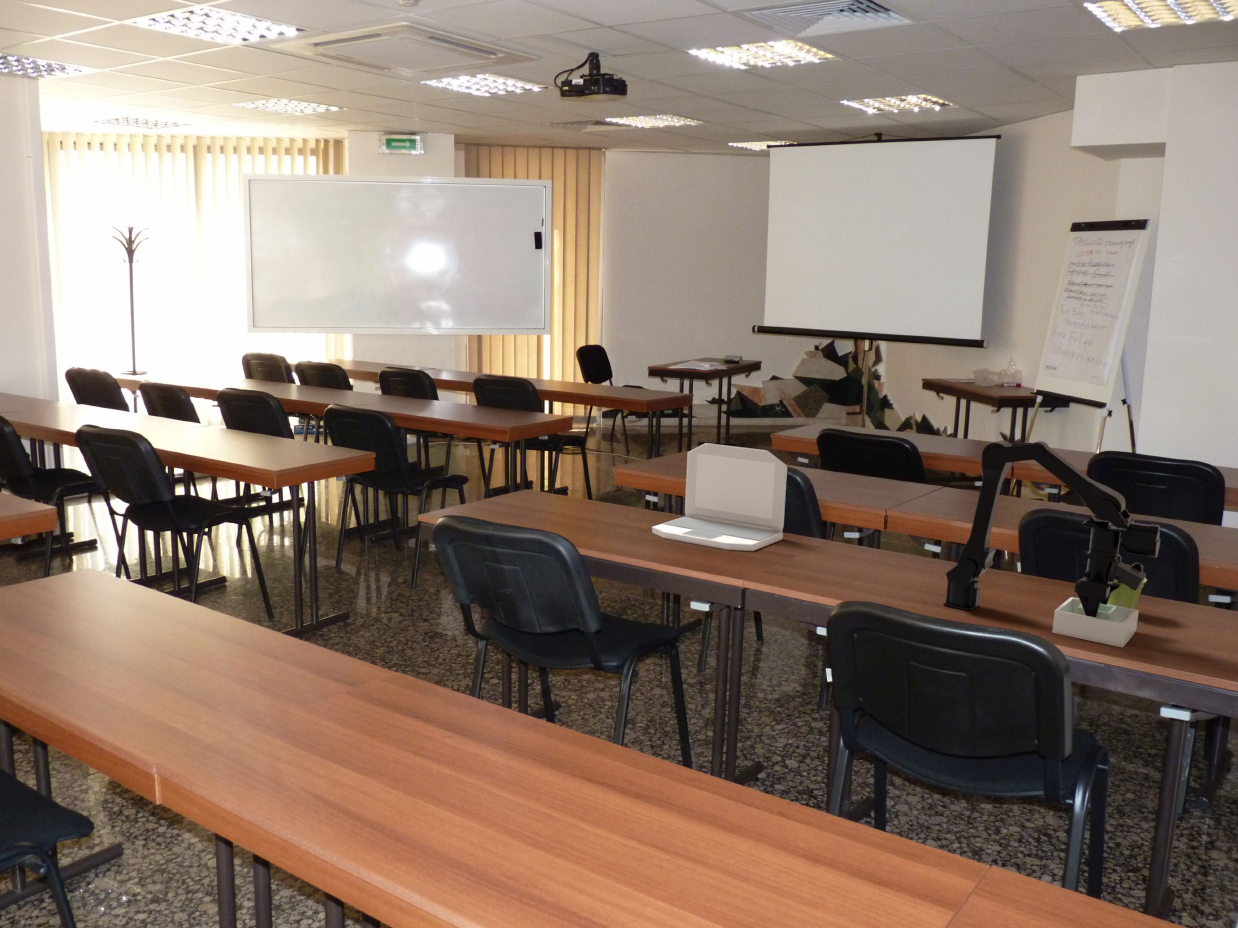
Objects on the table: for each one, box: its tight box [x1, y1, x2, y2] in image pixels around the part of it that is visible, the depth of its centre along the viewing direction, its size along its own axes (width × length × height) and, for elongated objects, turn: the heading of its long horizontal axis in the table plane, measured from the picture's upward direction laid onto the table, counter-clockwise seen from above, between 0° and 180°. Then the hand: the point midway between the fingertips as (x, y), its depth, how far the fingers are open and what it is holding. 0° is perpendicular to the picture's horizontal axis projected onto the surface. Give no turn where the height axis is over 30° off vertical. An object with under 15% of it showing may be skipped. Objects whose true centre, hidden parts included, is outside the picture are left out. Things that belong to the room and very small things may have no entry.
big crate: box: [1051, 597, 1139, 648], centre depth 218 cm, size 14×14×5 cm
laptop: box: [651, 442, 788, 552], centre depth 295 cm, size 33×24×26 cm
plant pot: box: [1107, 577, 1148, 610], centre depth 234 cm, size 9×9×9 cm
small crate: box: [1077, 604, 1117, 621], centre depth 218 cm, size 6×6×5 cm
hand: (1095, 618), depth 218 cm, fingers open, 8 cm apart
